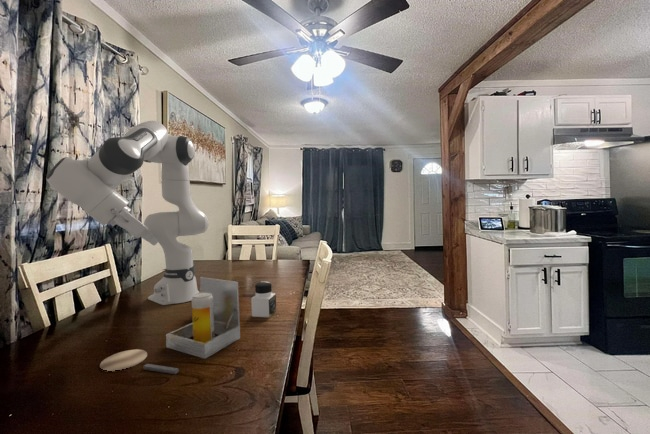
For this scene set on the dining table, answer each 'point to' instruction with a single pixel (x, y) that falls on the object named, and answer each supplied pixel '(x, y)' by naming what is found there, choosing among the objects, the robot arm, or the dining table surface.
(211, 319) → the beer can
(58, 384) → the dining table surface
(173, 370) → the bar
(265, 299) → the medicine bottle
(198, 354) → the case
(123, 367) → the pad
